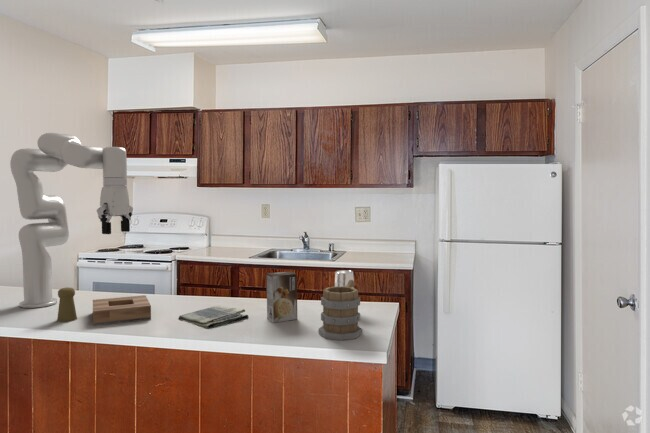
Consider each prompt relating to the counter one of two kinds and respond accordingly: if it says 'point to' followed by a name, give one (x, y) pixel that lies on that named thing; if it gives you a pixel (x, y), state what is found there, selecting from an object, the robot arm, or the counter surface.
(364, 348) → the counter surface
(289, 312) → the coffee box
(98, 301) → the docking block
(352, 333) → the tankard
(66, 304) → the cork
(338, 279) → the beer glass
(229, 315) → the dish towel
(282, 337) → the counter surface
